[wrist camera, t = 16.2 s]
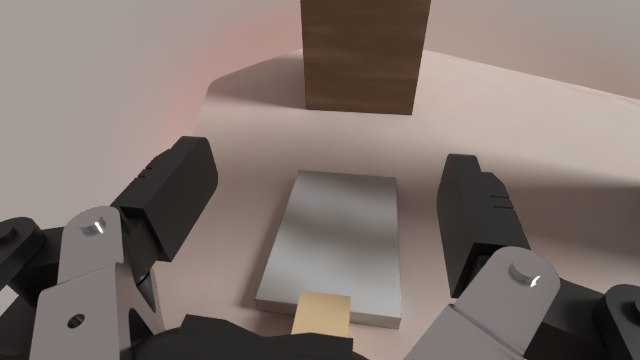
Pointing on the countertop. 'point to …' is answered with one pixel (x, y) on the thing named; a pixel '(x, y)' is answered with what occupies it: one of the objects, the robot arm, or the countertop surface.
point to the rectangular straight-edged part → (336, 255)
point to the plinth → (363, 54)
